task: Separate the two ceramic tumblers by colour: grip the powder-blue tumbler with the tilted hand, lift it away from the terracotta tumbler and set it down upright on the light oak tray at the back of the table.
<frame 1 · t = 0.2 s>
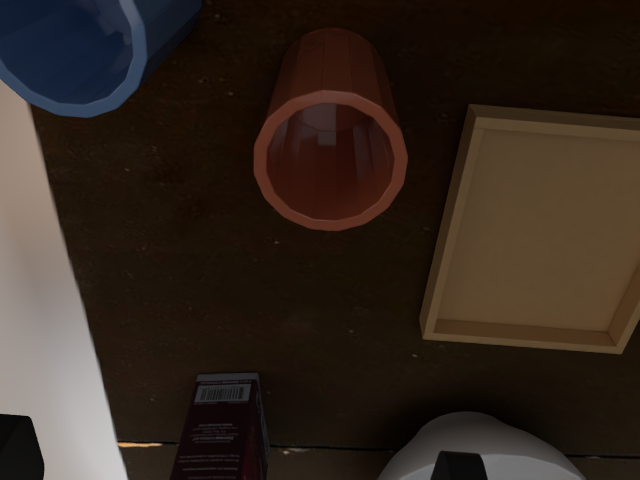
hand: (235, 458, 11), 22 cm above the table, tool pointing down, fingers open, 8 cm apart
bowl: (460, 440, 45), on the table
supplement box: (237, 407, 44), on the table
tray: (547, 232, 34), on the table
red cup: (331, 84, 30), on the table
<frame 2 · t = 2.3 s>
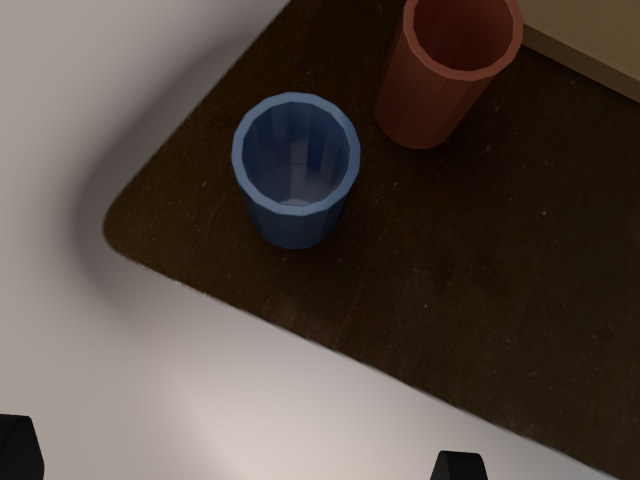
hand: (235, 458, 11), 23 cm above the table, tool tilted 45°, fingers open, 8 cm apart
blue cup: (295, 203, 35), on the table
red cup: (417, 107, 37), on the table
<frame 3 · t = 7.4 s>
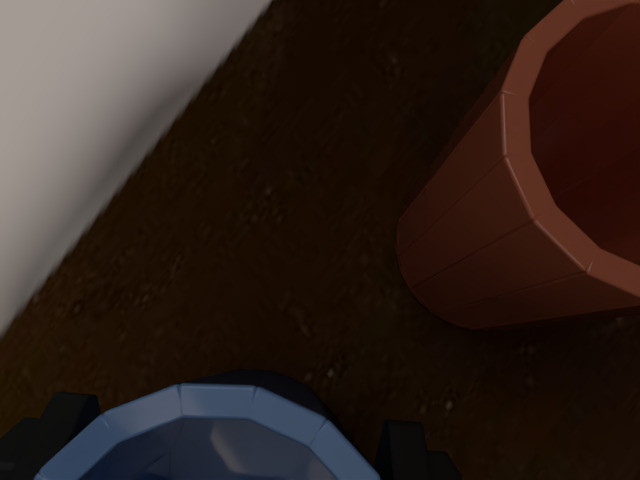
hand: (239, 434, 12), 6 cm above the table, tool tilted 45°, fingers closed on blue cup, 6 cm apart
blue cup: (252, 465, 18), on the table, touching gripper
red cup: (479, 245, 19), on the table
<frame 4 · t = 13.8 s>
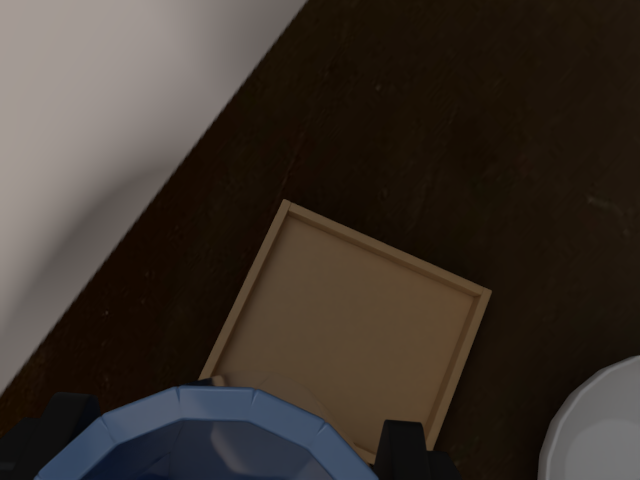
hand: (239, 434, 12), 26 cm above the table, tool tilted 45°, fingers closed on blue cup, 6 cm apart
bowl: (614, 473, 38), on the table
tray: (345, 336, 38), on the table
blue cup: (251, 466, 17), point 20 cm above the table, touching gripper
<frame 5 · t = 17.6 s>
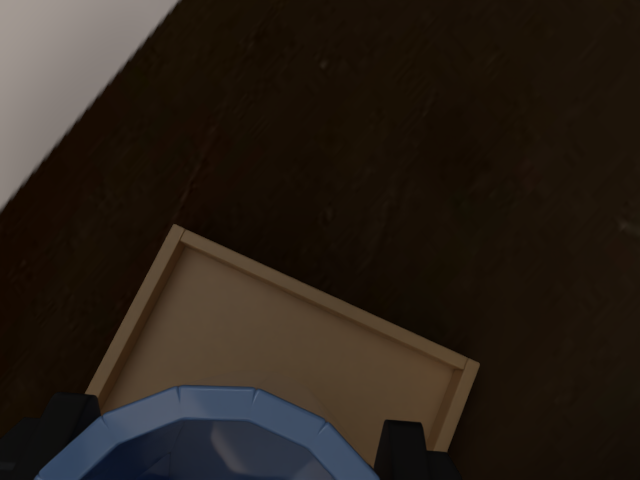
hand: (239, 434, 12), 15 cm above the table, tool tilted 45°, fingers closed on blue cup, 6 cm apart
tray: (264, 427, 26), on the table
blue cup: (252, 466, 17), point 9 cm above the table, touching gripper
when the fingers open (7 cm above the table, at t = 20.4 s): blue cup stays where it is, resting on tray.
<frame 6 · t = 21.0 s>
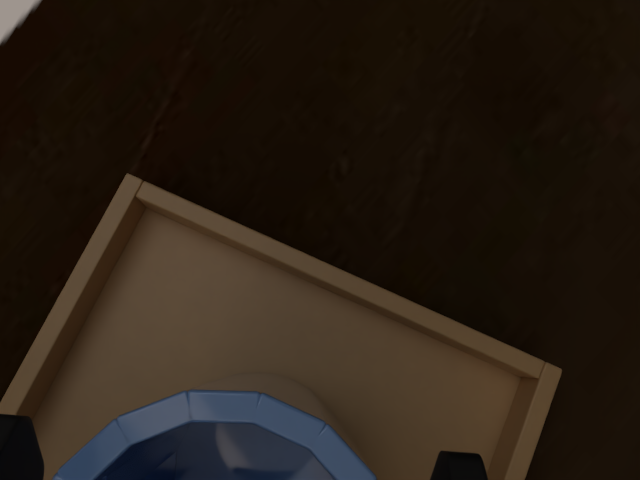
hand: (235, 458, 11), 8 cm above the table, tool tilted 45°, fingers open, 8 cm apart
tray: (255, 459, 19), on the table
blue cup: (255, 465, 18), resting on tray
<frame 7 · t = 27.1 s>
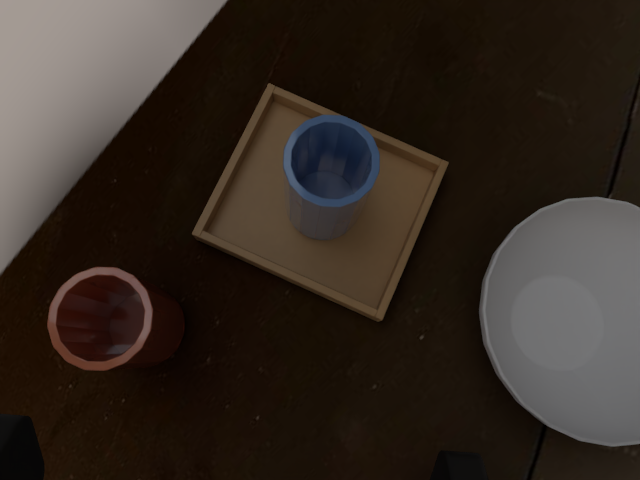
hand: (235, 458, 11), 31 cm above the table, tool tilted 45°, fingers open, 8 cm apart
bowl: (554, 322, 43), on the table
tray: (322, 204, 44), on the table
blue cup: (322, 203, 44), resting on tray
red cup: (145, 326, 42), on the table
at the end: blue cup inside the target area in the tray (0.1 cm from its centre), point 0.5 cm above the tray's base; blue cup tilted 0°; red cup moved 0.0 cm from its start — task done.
